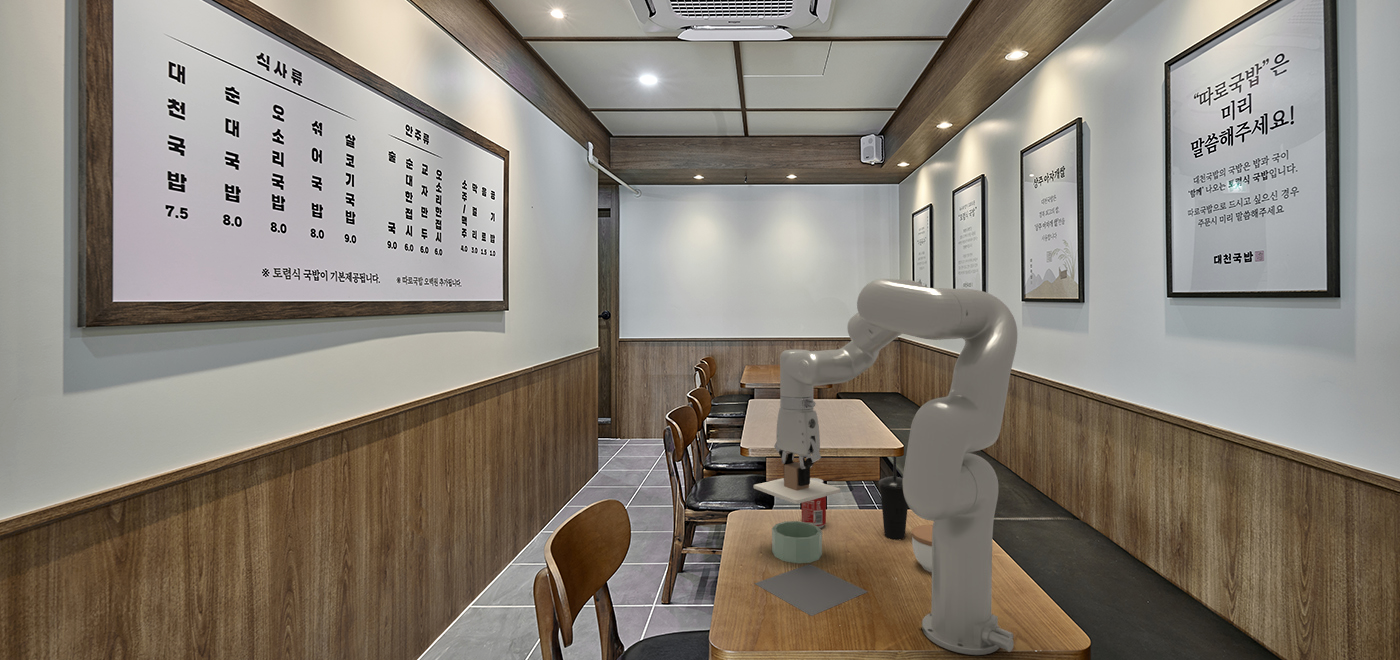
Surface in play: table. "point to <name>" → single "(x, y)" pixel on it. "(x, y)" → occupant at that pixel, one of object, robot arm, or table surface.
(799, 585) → the mat
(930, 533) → the lidded jar
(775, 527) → the bowl
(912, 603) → the table surface
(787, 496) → the lid
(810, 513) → the beverage can
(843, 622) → the table surface
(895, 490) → the drinking cup
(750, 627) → the table surface
